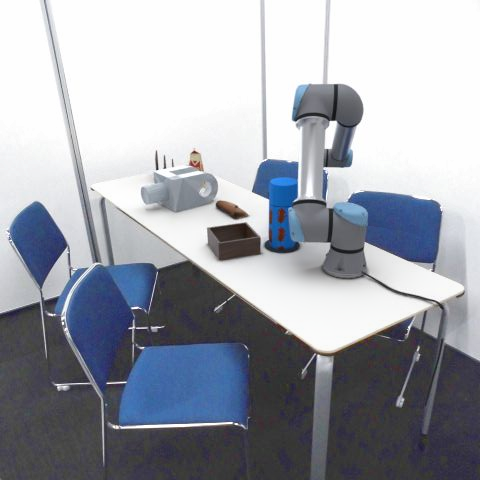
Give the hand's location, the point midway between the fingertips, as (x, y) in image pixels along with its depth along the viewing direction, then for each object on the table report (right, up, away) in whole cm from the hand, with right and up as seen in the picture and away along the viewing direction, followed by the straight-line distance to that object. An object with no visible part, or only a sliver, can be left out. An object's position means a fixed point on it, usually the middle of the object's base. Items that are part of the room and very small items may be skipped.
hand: (286, 203), depth 182 cm
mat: (-1, -16, +5) cm, 16 cm away
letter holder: (-61, +37, +89) cm, 114 cm away
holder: (-21, -17, +3) cm, 27 cm away
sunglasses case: (-22, +5, +39) cm, 45 cm away
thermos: (-1, -15, +5) cm, 16 cm away
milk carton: (-42, +29, +76) cm, 91 cm away
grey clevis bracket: (-48, +12, +50) cm, 71 cm away
